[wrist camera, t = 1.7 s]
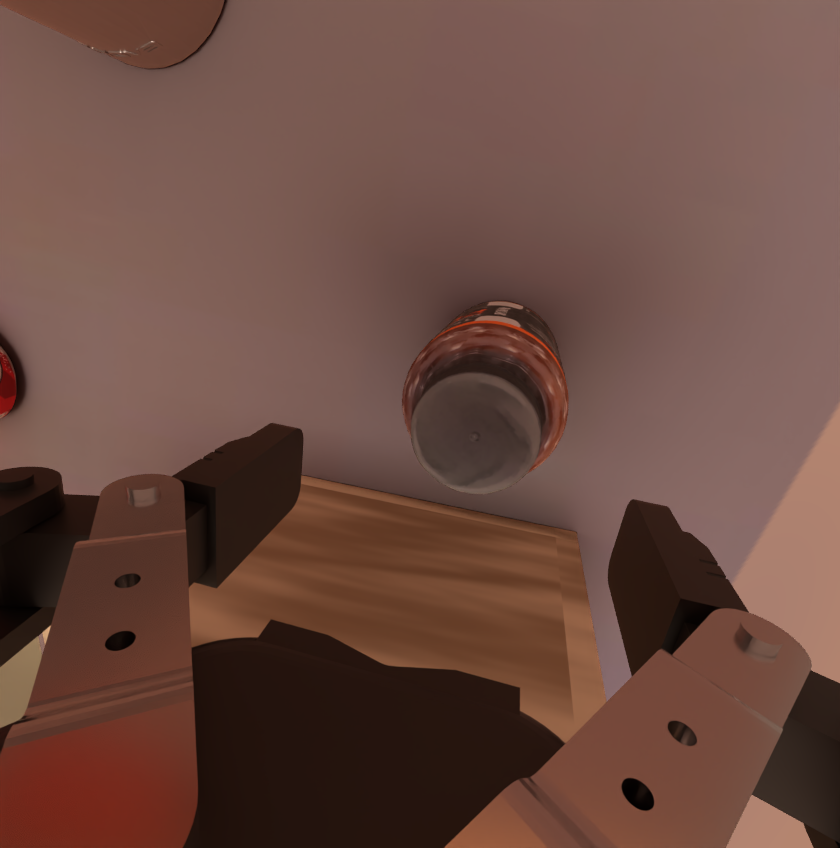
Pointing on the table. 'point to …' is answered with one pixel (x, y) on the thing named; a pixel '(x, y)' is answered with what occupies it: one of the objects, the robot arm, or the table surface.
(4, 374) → the soda can
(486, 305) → the supplement bottle
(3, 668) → the bread box lid
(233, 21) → the table surface
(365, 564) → the bread box
